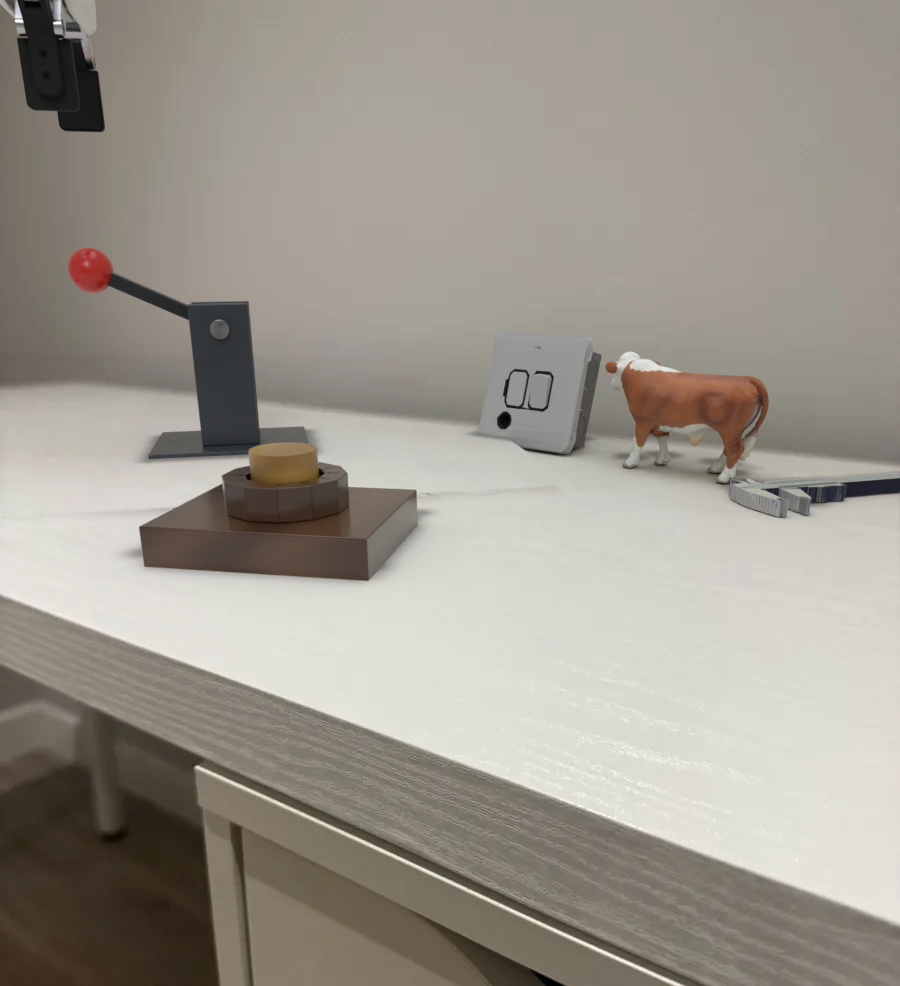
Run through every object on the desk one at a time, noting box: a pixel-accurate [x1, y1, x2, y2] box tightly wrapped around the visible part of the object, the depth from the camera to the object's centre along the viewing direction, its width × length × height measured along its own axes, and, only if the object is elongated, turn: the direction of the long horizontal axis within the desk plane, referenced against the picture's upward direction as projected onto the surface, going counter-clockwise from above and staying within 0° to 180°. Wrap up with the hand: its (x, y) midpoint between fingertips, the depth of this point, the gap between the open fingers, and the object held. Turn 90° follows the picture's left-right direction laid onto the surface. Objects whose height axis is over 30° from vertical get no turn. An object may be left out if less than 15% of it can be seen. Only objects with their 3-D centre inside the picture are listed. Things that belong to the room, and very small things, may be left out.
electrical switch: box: [477, 331, 602, 455], centre depth 73 cm, size 9×5×9 cm, turn 49°
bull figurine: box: [604, 351, 770, 484], centre depth 64 cm, size 4×13×8 cm, turn 41°
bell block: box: [138, 461, 418, 582], centre depth 48 cm, size 12×10×4 cm
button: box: [248, 442, 319, 483], centre depth 47 cm, size 4×4×2 cm
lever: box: [66, 246, 189, 321], centre depth 67 cm, size 13×3×3 cm, turn 100°
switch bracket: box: [148, 300, 309, 460], centre depth 70 cm, size 12×10×12 cm
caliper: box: [728, 472, 900, 518], centre depth 59 cm, size 20×1×6 cm
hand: (69, 121), depth 62 cm, fingers open, 9 cm apart
